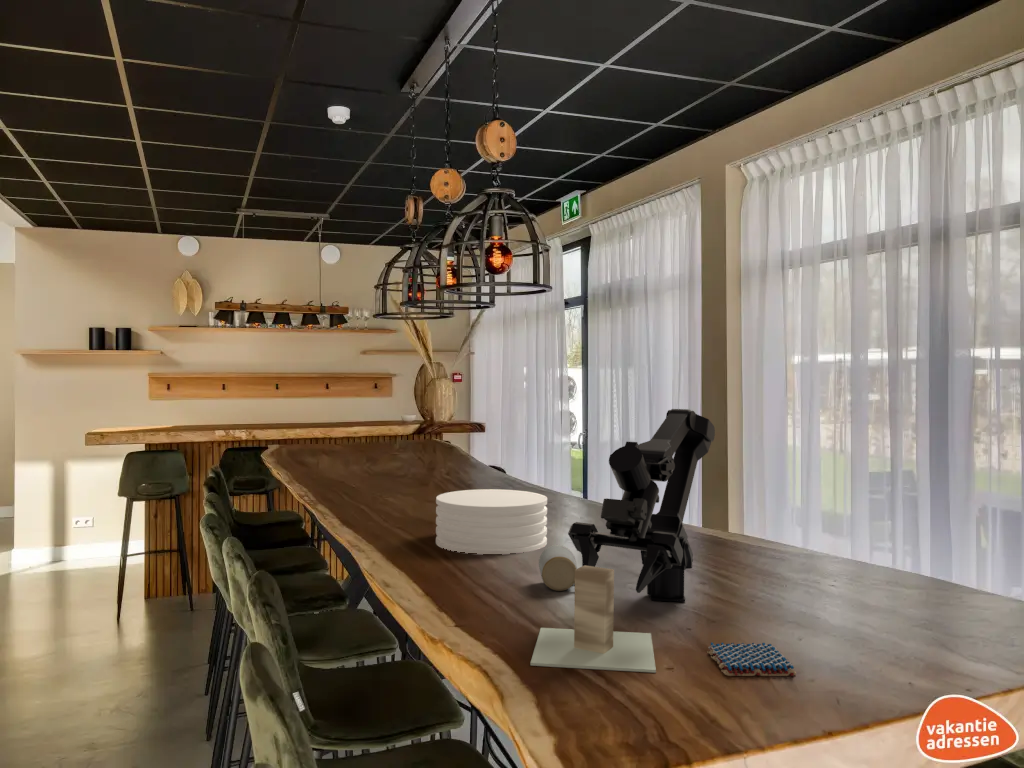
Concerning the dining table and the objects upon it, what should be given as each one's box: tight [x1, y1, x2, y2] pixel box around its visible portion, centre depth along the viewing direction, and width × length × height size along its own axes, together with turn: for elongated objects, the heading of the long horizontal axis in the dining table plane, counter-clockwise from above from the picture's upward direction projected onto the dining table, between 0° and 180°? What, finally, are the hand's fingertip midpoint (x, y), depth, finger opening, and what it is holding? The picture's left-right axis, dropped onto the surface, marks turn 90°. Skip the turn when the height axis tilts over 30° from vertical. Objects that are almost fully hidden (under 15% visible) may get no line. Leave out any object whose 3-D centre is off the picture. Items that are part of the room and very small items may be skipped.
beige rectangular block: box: [573, 565, 615, 654], centre depth 121 cm, size 4×5×12 cm
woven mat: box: [706, 642, 797, 677], centre depth 116 cm, size 10×11×2 cm
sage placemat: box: [529, 627, 657, 674], centre depth 121 cm, size 18×16×1 cm
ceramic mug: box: [538, 544, 578, 592], centre depth 157 cm, size 11×8×8 cm
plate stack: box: [435, 488, 548, 555], centre depth 198 cm, size 28×28×12 cm
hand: (610, 587), depth 126 cm, fingers open, 9 cm apart
